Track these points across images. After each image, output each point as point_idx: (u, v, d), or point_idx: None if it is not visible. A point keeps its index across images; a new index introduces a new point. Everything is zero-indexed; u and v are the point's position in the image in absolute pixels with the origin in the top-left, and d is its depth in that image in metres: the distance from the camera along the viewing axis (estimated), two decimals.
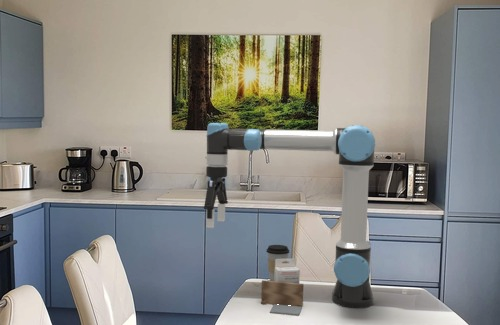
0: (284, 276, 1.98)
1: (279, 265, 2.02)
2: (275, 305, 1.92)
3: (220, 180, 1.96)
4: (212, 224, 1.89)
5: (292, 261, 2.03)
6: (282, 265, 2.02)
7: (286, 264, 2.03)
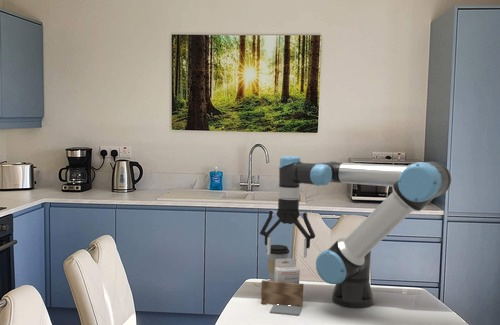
0: (284, 276, 1.98)
1: (279, 265, 2.02)
2: (275, 305, 1.92)
3: (290, 213, 1.98)
4: (267, 251, 2.01)
5: (292, 261, 2.03)
6: (282, 265, 2.02)
7: (286, 264, 2.03)
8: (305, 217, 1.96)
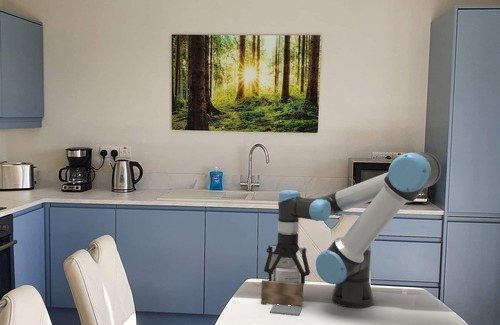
0: (284, 276, 1.98)
1: (279, 265, 2.02)
2: (275, 305, 1.92)
3: (290, 246, 1.98)
4: None
5: (292, 261, 2.03)
6: (282, 264, 2.02)
7: (286, 264, 2.03)
8: (304, 253, 1.97)
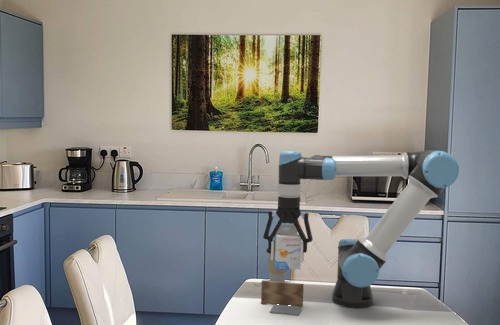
0: (284, 242, 1.84)
1: (279, 231, 1.88)
2: (275, 305, 1.92)
3: (291, 211, 1.85)
4: (271, 256, 1.87)
5: (293, 227, 1.89)
6: (283, 231, 1.89)
7: (287, 231, 1.89)
8: (306, 218, 1.84)
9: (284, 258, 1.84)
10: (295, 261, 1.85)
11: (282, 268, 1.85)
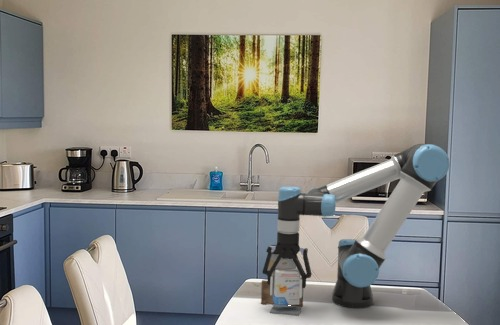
0: (283, 278, 1.85)
1: (278, 266, 1.89)
2: (275, 305, 1.92)
3: (290, 246, 1.86)
4: (270, 291, 1.88)
5: (292, 262, 1.90)
6: (282, 266, 1.89)
7: (286, 266, 1.90)
8: (305, 254, 1.84)
9: (283, 294, 1.85)
10: (294, 296, 1.86)
11: (281, 303, 1.85)
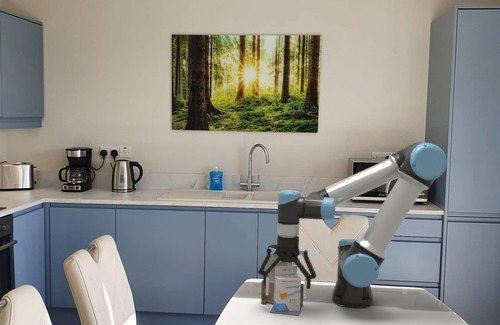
0: (284, 284, 1.85)
1: (279, 272, 1.89)
2: None
3: (290, 251, 1.86)
4: (266, 291, 1.89)
5: (293, 268, 1.90)
6: (283, 272, 1.89)
7: (287, 272, 1.90)
8: (306, 256, 1.84)
9: (284, 300, 1.85)
10: (294, 303, 1.86)
11: (282, 310, 1.86)
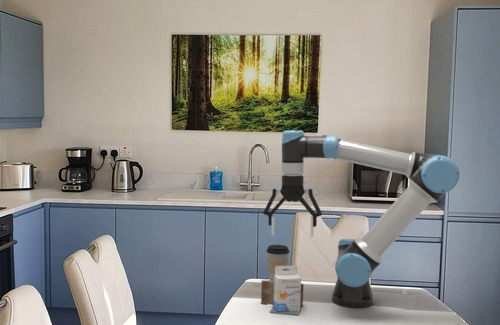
0: (284, 284, 1.85)
1: (279, 272, 1.89)
2: None
3: (295, 190, 1.87)
4: None
5: (293, 268, 1.90)
6: (283, 272, 1.89)
7: (287, 272, 1.90)
8: (311, 194, 1.86)
9: (284, 300, 1.85)
10: (294, 303, 1.86)
11: (282, 310, 1.86)
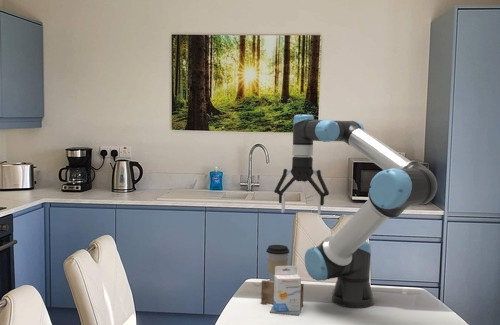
0: (284, 284, 1.85)
1: (279, 272, 1.89)
2: None
3: (304, 170, 2.00)
4: (281, 209, 2.03)
5: (293, 268, 1.90)
6: (283, 272, 1.89)
7: (287, 272, 1.90)
8: (319, 174, 1.99)
9: (284, 300, 1.85)
10: (294, 303, 1.86)
11: (282, 310, 1.86)
